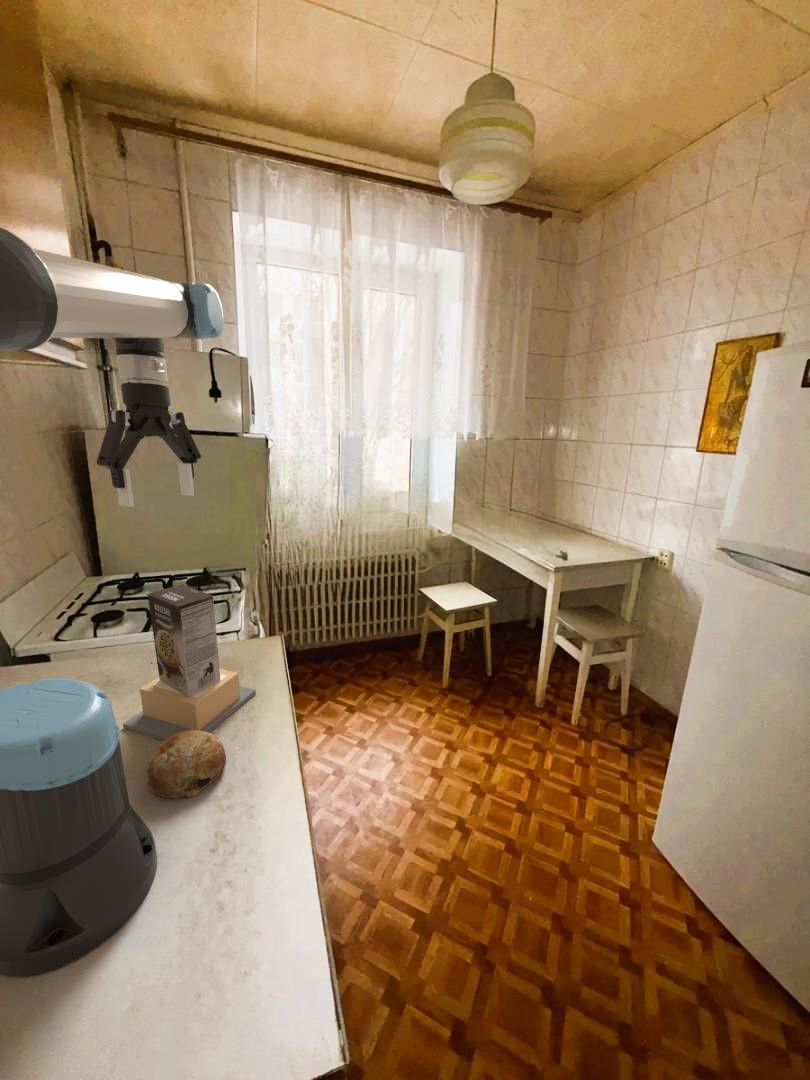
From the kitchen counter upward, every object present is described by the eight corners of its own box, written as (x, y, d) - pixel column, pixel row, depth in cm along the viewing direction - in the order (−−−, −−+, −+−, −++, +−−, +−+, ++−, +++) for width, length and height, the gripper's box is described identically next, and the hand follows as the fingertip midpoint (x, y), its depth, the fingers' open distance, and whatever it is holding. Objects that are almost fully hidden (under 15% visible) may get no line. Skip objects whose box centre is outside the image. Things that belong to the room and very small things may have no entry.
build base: (188, 749, 69) (184, 716, 67) (123, 727, 73) (118, 696, 72) (255, 693, 83) (253, 665, 82) (197, 678, 88) (194, 651, 86)
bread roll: (164, 829, 59) (169, 798, 55) (132, 768, 64) (135, 736, 60) (232, 784, 67) (241, 754, 63) (199, 733, 71) (205, 702, 67)
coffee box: (157, 680, 76) (145, 593, 72) (192, 664, 82) (182, 582, 78) (187, 698, 72) (176, 606, 67) (222, 680, 77) (214, 593, 73)
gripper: (90, 375, 66) (111, 513, 72) (213, 388, 89) (222, 492, 94) (56, 376, 69) (79, 509, 74) (184, 389, 91) (195, 490, 97)
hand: (159, 500), depth 84 cm, fingers open, 13 cm apart
